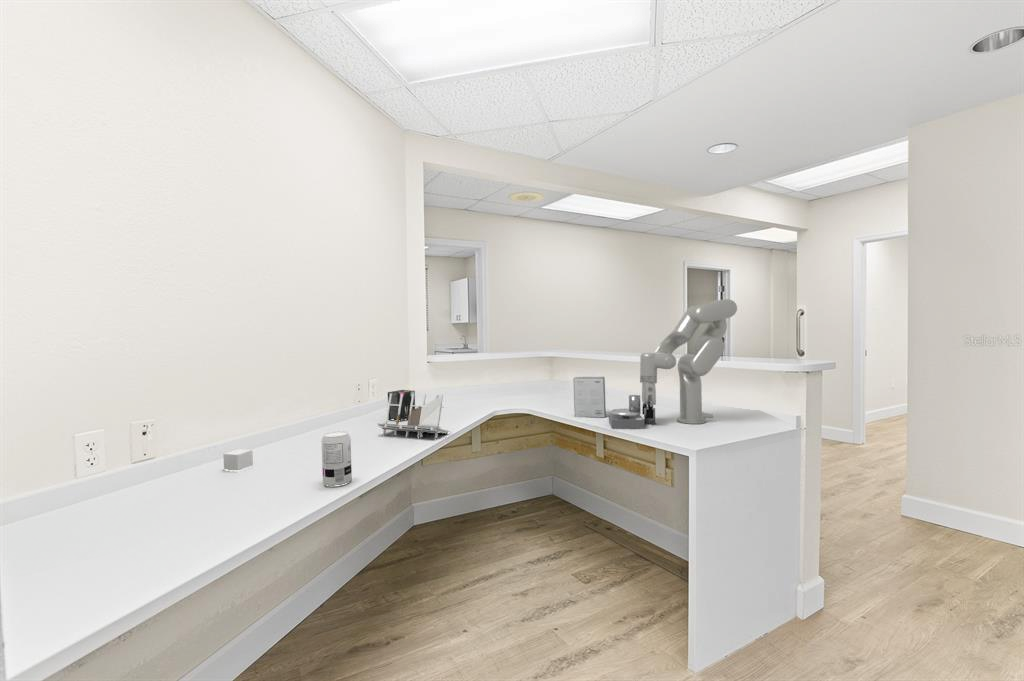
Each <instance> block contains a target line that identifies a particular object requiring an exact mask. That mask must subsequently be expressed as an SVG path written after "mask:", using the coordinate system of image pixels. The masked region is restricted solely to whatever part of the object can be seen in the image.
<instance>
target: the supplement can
mask: <svg viewBox="0 0 1024 681" xmlns="http://www.w3.org/2000/svg"><path fill="white" fill-rule="evenodd" d="M351 445H352V444H351V436H350V434H349V432H347V431H344V430H343V431H339V430H338V431H332V432H327V433H325V434H323V437H322V439H321V460H322V462H321V464H322V465H321V466H322V467H321V468H322V484H323V485H324V486H325V485H328V486H335V485H342V484H345V483H348V482H349V483H351V481H352V480H353V474H352V469H353V468H352V446H351ZM349 483H348V484H349Z"/></svg>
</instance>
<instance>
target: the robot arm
mask: <svg viewBox="0 0 1024 681" xmlns="http://www.w3.org/2000/svg"><path fill="white" fill-rule="evenodd" d="M737 312H738V305H737V303H736V302H735V301H734V300H733V299H729V298H725V299H718V300H717V299H716V300H712V301H711V302H709V303H705V304H699V305H691V306H690V307H689V308H687V309H686V311H685V312H684V314H683V316H682V317H681V319H680V320H679V321H678V323H677V325H676V326H675V327H674V329H673V330H672V331H671V332H670V333H669V334H668V335H667V336H666V337H665V338H664V339H663V340H662V341H661V342H660V343H659V345H658V346H657V347H656V349H655V351H654V352H643V353H641V354H640V361H639V362H640V370H639V374H640V375H639V383H641V401H642V407H641V408H642V409H641V410H642V411H641V412H642V415H644V408H647V409H646V418H651V419H653V415H654V410H653V408H654V406H656V404H657V396H656V395H657V394H656V393H657V392H656V390H657V389H656V384H657V383H658V369H661V370H671V369H673V368H674V367H675V366H676V365H677V371H678V376H679V416H677V418H676V422H678V423H681V424H689V425H691V424H692V425H697V424H699V425H701V424H705V423H706V419H707V418H708V419H712V418H714V414H713V413H705V412H703V407H702V406H703V403H702V400H703V399H702V398H703V396H702V392H703V391H702V386H703V385H702V379H701V377H704V376H706V375H707V374H708V373H709V372H710V371H711V370H712V369H713V367H714V366H715V365H716V364H717V362H718V361H719V360H720V358H721V357H722V356H723V354H724V351H725V346H726V345H725V343H724V341H723V337H724V336H725V334H726V333H727V328H728V323H727V319H729V318H730V319H731V318H732V317H733V316H735V315H736V313H737ZM701 324H707V325H706V327H705V328H704V330H703V331H702V332H701V334H700V335H699V336H698V337H697V339H696V340H695V341H694V343H693V347H692V348H693V351H694V352H695V353H694V354H693V353H686V354H683V355H682V356H680V357H679V359H678V361H677V358H676V357H675V355H673V354H672V353H674V351H676V350H677V349H678V348H679V347H681V346H683V345H684V344H687V343H688V342H689V341H690V340H691V339H692V338H693V336H694V334H695V333H696V331H697V330H698V328H699V327H700V326H701Z"/></svg>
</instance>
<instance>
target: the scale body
mask: <svg viewBox="0 0 1024 681" xmlns="http://www.w3.org/2000/svg"><path fill="white" fill-rule="evenodd" d="M608 423H609V426H610V428H611V429H612V430H644V429H645V423H644V417H642V415H641V414H640V415H636V416H629V417H622V416H619V415H613V414H611V413H609V414H608Z"/></svg>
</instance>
